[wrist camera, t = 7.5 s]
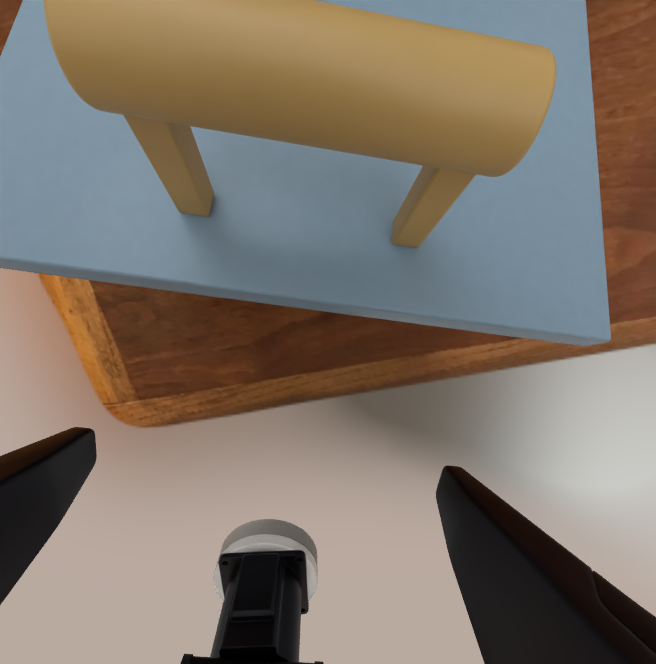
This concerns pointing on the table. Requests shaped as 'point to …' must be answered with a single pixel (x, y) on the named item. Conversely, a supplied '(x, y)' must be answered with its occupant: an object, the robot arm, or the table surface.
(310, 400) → the table surface
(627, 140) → the table surface
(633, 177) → the table surface
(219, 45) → the lid
